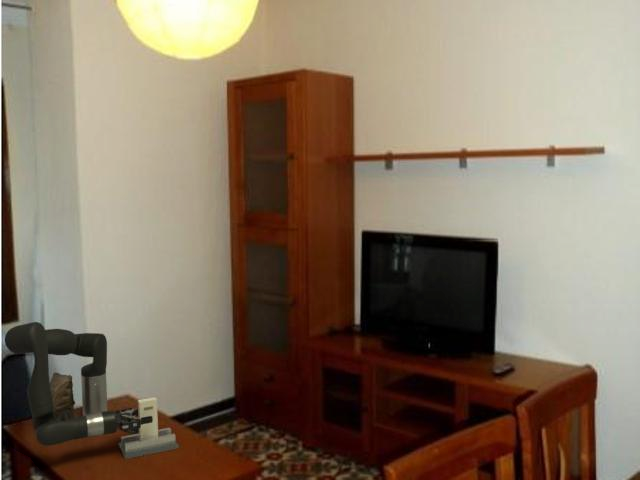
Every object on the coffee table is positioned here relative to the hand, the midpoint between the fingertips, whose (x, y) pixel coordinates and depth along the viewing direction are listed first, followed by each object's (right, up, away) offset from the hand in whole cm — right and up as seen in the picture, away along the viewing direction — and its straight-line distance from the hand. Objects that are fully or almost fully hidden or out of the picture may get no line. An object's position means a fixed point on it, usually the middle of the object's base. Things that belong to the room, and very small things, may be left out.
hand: (149, 414), depth 217 cm
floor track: (-1, -11, +1) cm, 12 cm away
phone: (-8, -11, +16) cm, 21 cm away
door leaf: (0, -10, +1) cm, 11 cm away
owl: (-40, -10, +17) cm, 45 cm away
